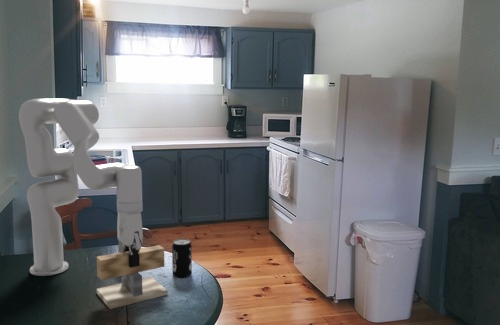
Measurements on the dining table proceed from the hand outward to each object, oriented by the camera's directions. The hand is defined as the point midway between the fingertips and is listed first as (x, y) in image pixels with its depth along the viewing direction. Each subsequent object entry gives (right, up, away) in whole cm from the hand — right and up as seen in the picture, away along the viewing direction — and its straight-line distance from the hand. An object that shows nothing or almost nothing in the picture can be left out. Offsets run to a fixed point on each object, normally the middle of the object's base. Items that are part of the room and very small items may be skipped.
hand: (131, 263), depth 142 cm
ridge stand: (0, -10, +2) cm, 10 cm away
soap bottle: (-8, -6, +27) cm, 29 cm away
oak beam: (0, -2, 0) cm, 2 cm away
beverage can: (+13, -8, +17) cm, 23 cm away
